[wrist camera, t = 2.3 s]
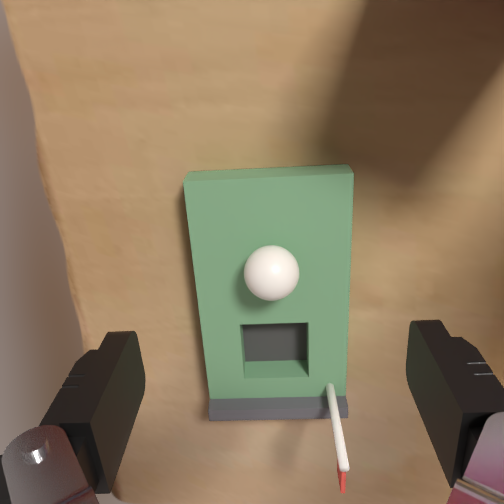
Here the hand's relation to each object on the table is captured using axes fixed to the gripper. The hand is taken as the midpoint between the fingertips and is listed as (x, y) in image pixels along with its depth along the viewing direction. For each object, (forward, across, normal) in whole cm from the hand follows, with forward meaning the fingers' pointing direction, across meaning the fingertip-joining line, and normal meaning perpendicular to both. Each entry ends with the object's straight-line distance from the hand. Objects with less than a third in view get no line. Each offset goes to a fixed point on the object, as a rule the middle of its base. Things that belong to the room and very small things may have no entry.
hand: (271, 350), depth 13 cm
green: (+23, 0, +11) cm, 26 cm away
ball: (+19, 0, +7) cm, 20 cm away
